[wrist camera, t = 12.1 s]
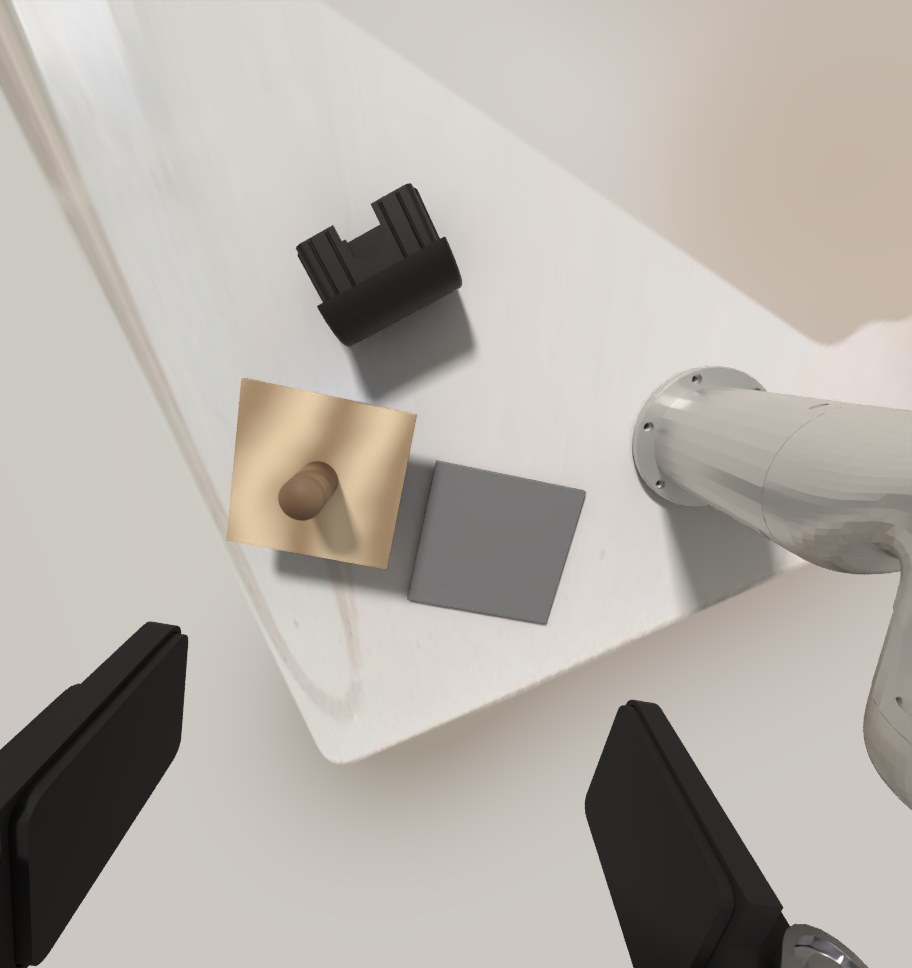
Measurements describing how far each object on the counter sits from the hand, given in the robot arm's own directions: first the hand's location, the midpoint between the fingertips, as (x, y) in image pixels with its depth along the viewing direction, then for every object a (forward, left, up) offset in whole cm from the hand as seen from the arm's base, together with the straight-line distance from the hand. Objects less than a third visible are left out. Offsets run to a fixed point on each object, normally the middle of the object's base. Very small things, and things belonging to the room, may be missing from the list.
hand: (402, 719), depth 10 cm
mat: (-8, +9, -33) cm, 35 cm away
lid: (+8, +4, -28) cm, 30 cm away
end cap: (+6, -12, -34) cm, 36 cm away
